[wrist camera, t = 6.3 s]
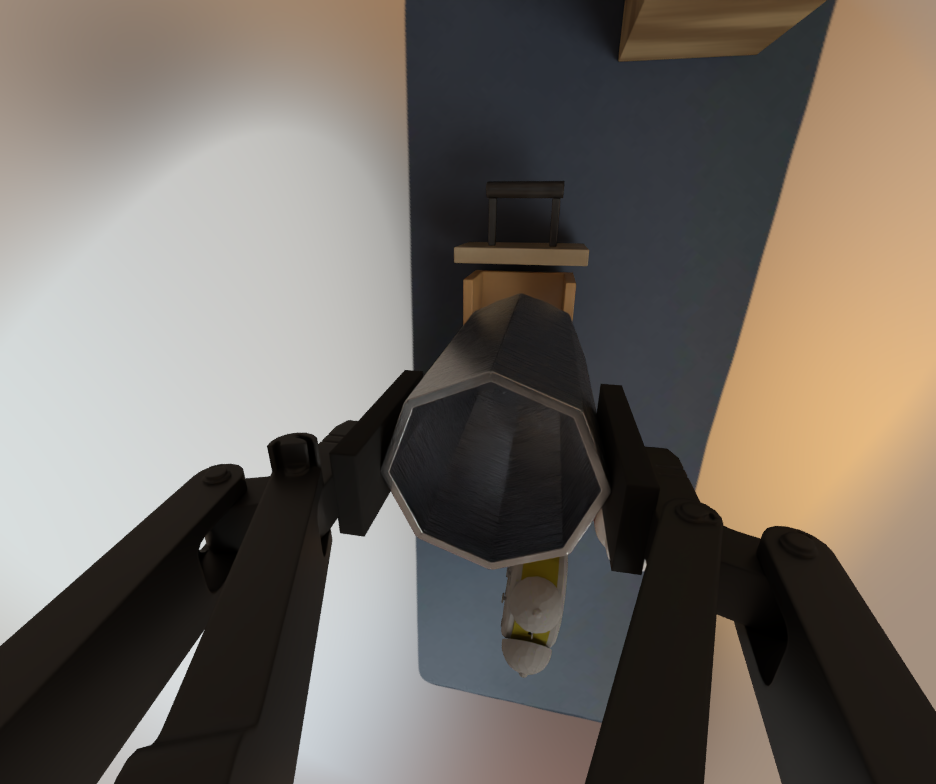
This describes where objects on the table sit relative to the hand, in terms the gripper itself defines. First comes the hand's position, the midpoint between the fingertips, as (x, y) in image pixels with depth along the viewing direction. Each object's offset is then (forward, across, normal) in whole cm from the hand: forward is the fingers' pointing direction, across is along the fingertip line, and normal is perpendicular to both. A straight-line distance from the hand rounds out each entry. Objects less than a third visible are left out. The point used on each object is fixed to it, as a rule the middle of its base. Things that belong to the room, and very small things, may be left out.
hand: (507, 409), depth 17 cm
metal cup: (+7, 0, 0) cm, 7 cm away
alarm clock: (+27, +1, -30) cm, 40 cm away
